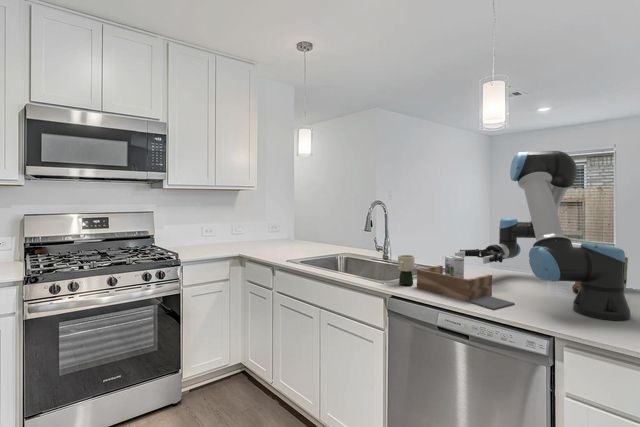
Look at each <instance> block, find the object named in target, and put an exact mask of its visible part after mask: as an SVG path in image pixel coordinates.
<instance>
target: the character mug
mask: <svg viewBox="0 0 640 427" xmlns="http://www.w3.org/2000/svg"><path fill="white" fill-rule="evenodd" d="M397 262H398V267H397V269H398V270H399V271H400V273H399V280H398V284H399V285H403V286H410V285H411V286H413V285H414V278H413V272H414V270H415V256H414V255H411V254H401V255H398V256H397Z"/></svg>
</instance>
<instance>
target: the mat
mask: <svg viewBox="0 0 640 427" xmlns="http://www.w3.org/2000/svg"><path fill="white" fill-rule="evenodd" d="M466 302H467V303H470V304H473V305H476V306H480V307H483V308H486V309H489V310H493V311H496V310H499V309H503V308H507V307H510V306H515V302H512V301H509V300H505V299H501V298H497V297H494V296H492V295H490V296H487V295H485V296H482V297H478V298H475V299H471V300H466V299H465V303H466Z"/></svg>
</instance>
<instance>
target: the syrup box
mask: <svg viewBox="0 0 640 427" xmlns="http://www.w3.org/2000/svg"><path fill="white" fill-rule="evenodd" d="M464 273H465V257H464V258H461V257H458V256H455V255H446V256H444V274H445V275H449V276H454V277H459V278H463V279H465V278H464V277H465V274H464Z"/></svg>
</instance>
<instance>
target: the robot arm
mask: <svg viewBox="0 0 640 427" xmlns="http://www.w3.org/2000/svg"><path fill="white" fill-rule="evenodd" d="M509 176H510V179H511V181H513V182H517V184H518V185H517V186H518V187H519V188H520V189H522V190H523V191H524V194H525V199H526V203H527V206H528V212H529V216H530V219H531V220H530V221H527V222H526V221H518V219H517V218H514V217H502V218H500V220H499V227H498V228H499V234H498V236H499V240H498V243H497V244H496V243H495V244H491V245H488V246H487V247H486V248H484V249H479V248H476V249H459V251H457V252H454V256H458V257H461V258H464V259H465V258H466V257H477V258H481V259H482V260H483V261H482V264H490V263H494V262H495V263H498V262H499V263H503V260H506V259H507V260H508V259H513V258H515V257H518V256H519V255H520V253H521V246H520V244H518V242H517V240H518V239H517V238H519V239H523V238H525V239H535V242H533V244H532V247H531V248H530V249H529V253H528V258H529V259H528V262H529V266H530V269H531V271H532V273H533V274H534V276H535V277H536V278H537V279H539V280H541V281H548V282H549V281H550V282H554V283H555V282H570V283H575V282H580V289H579V291H578V293H577V294H576V296H575V298H574V301H573V302H572V303H573V305H572V310H573V311H575V312H576V313H578V314H580V315H584V316H586V317H590V318H594V319H601V320H607V321H626V320H630V319H631V310H630V306H629V304H628V300H627V298H626V296H625V292H624V276H625V264H626V262H625V257H626V254H625V253H626V252H625V251H624V249H622V248H620V247H616V246H609V245H604V244H600V243H591V242H582V243H581V244H580V247H578V246H577V247H576V246H573V243H572V240H571V238H569V237H567V236H565V233H564V231H563V226H562V224H561V220H560V217H559V213H558V208H559V207H560V205H561V204H562V203H561V202H562V201H563V199H564V196H565V195H566V194H567V191H568V189H569V188H571V187H572V186H574V184H575V182H576V179H577V176H578V167H577V164H576V162H575V160H574V158H572V156H571V155H570V154H568V153H566V152H565V151H561V150H545V151H544V150H543V151H542V150H541V151H539V150H538V151H537V150H535V151H528V150H527V151H521V152H520V151H519V152H516V153H515V155H514V156H513V158H512V160H511V164H510V170H509Z"/></svg>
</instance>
